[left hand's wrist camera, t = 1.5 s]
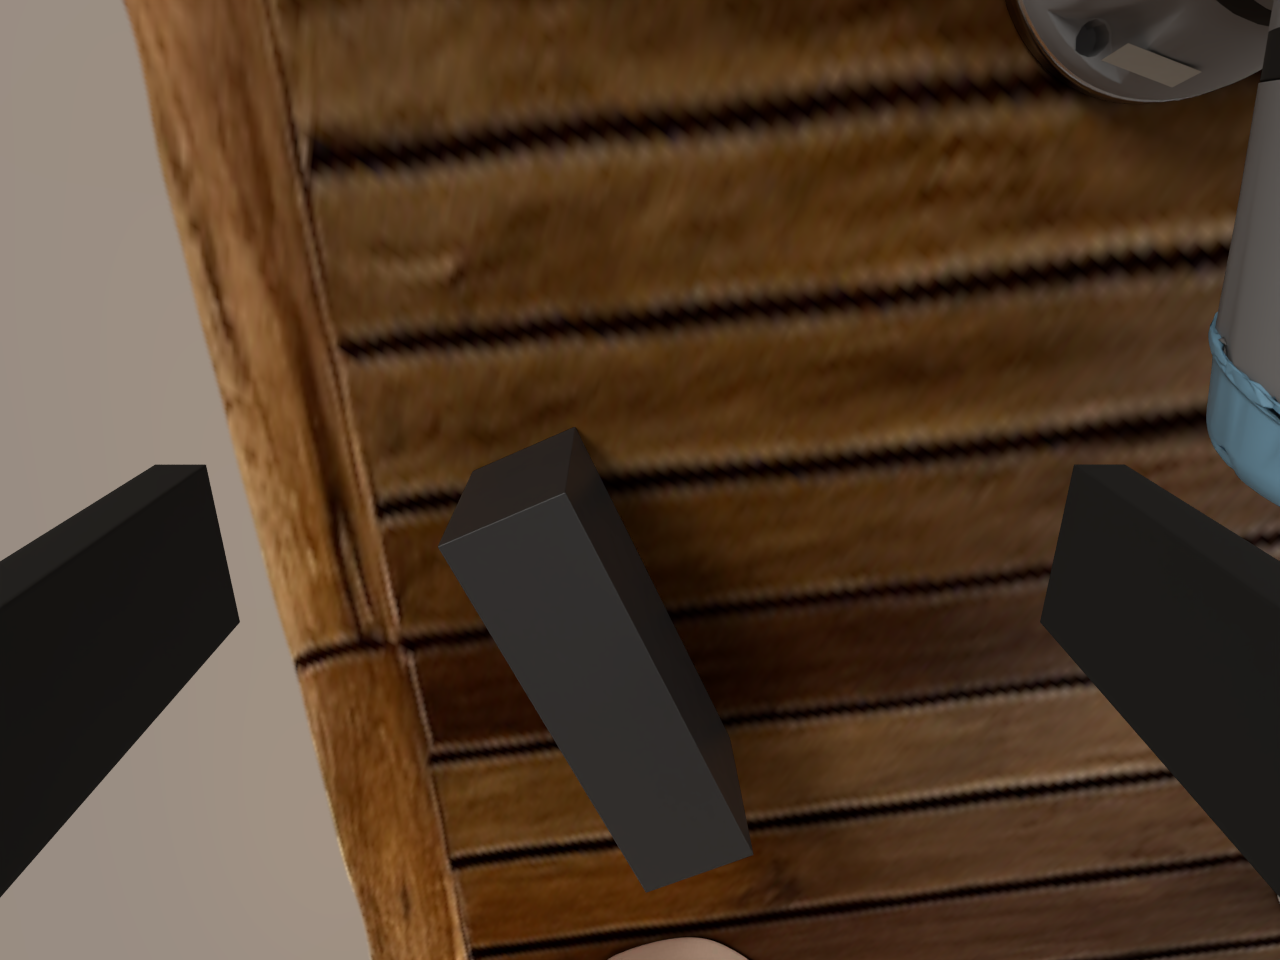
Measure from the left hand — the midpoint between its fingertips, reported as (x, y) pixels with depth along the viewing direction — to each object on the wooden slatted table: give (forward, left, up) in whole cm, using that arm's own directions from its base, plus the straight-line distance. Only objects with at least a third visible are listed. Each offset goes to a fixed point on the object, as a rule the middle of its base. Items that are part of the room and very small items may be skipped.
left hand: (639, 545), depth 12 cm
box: (+4, +18, -29) cm, 34 cm away
